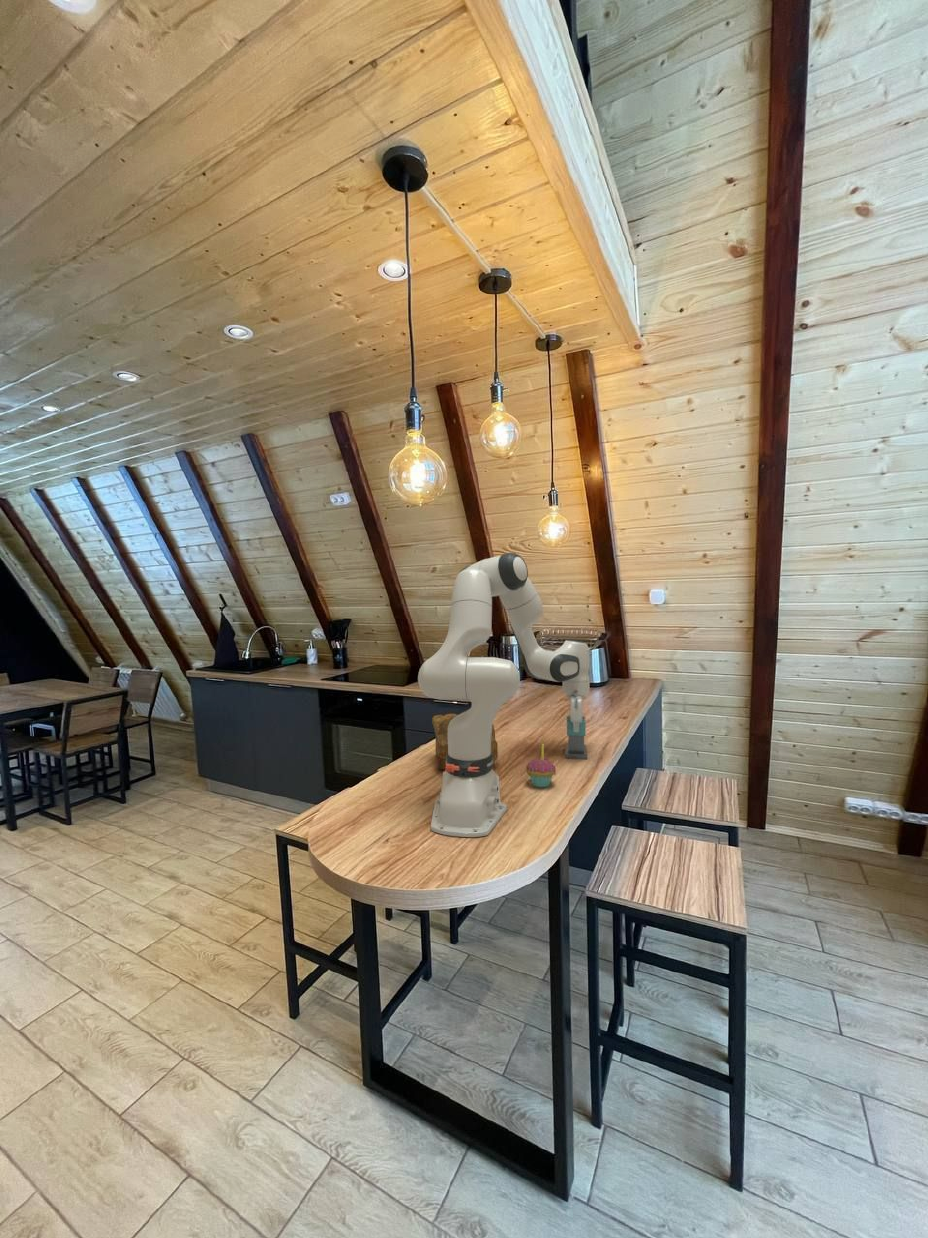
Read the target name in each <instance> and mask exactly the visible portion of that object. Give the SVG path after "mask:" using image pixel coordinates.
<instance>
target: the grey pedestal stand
mask: <svg viewBox="0 0 928 1238" xmlns="http://www.w3.org/2000/svg"><path fill="white" fill-rule="evenodd" d="M567 737H568V738H567V739H568V741H567V742H568V743H565V749H564V750H565V751H564V753H565V754H564V755H565V757H564V758H565V759H578V760H588V750H587V749H588V747H587V745H586V744H585V736H567Z"/></svg>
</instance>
